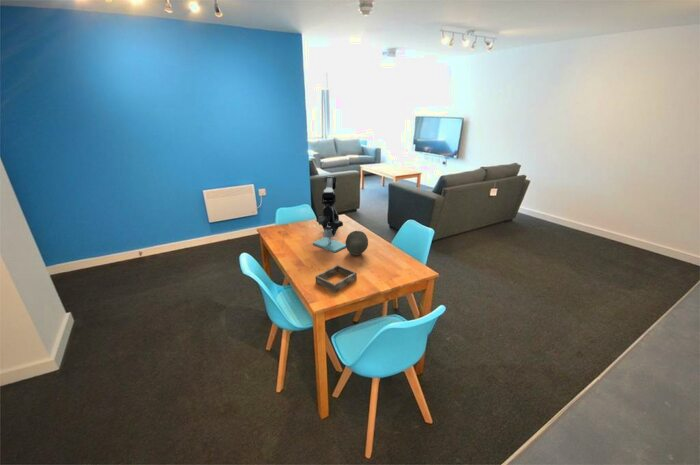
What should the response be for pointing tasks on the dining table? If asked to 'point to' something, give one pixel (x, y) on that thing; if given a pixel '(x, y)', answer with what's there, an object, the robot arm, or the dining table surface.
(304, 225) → the dining table surface
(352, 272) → the frame
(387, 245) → the dining table surface
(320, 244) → the shaft base
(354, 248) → the dark grey ball
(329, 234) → the block
